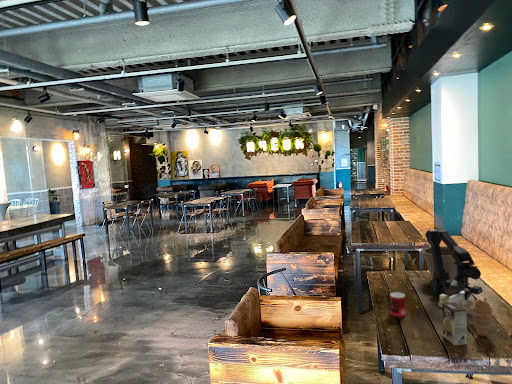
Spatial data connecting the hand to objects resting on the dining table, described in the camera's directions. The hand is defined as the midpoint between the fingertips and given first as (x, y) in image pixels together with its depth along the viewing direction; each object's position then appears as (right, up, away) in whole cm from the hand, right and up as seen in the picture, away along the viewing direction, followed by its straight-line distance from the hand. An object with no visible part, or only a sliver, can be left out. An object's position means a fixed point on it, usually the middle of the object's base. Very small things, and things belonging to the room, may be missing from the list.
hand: (462, 302), depth 210 cm
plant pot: (+10, 0, +41) cm, 42 cm away
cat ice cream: (-8, -7, -32) cm, 33 cm away
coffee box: (-22, -8, -34) cm, 41 cm away
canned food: (-36, -6, -3) cm, 37 cm away
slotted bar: (-3, -3, -2) cm, 5 cm away
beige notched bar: (-3, -4, -2) cm, 5 cm away
